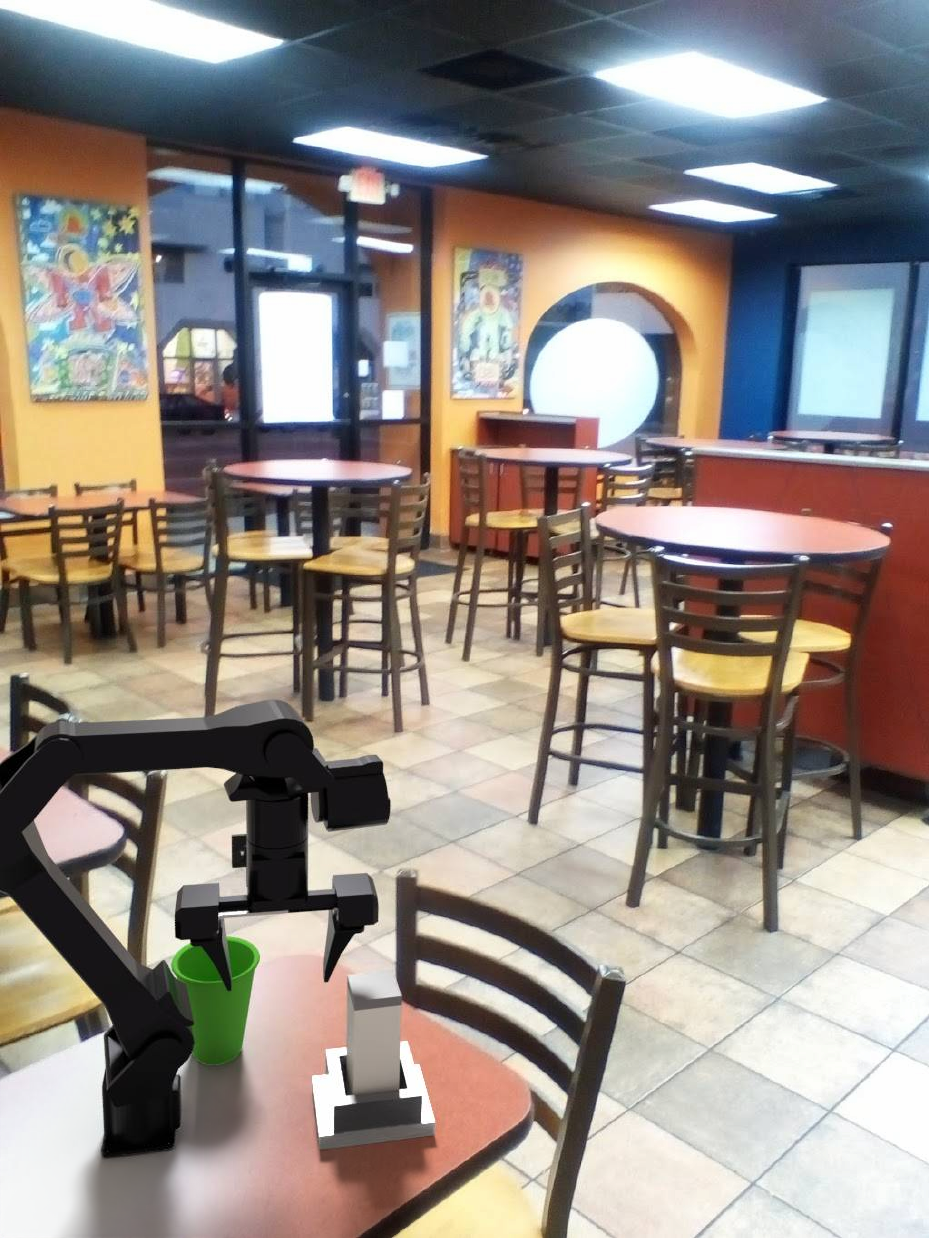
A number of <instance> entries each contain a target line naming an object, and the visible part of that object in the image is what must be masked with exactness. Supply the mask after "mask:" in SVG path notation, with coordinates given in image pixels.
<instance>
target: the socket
mask: <svg viewBox="0 0 929 1238" xmlns="http://www.w3.org/2000/svg"><path fill="white" fill-rule="evenodd" d="M410 1048H411V1047H410V1044H409V1042H408V1040H402V1041H401V1043H400V1078H399V1090H392V1091H383V1092H375V1093H366V1094H357V1095H349V1096H348V1094H347V1090H346V1047H337V1048H327V1049H325V1074H322V1075H321V1074H320V1075H312V1096H313V1105H314V1113H315V1122H316V1131H317V1138H318V1146H319V1147H318V1149H319V1150H320V1151H322V1150H323V1151H324V1150H329V1149H330V1150H331V1149H336V1148H337V1149H338V1148H347V1147H355V1146H362V1145H368V1144H377V1143H386V1142H392V1141H393V1142H394V1141H401V1140H407V1139H410V1140H411V1139H417V1138H423V1137H424V1138H425V1137H432V1136H435V1133H436V1132H435V1130H436V1119H435V1117H434V1113H433V1110H432V1106H431V1103H430V1099H429V1095H428V1091H427V1088H426V1084H425V1081H424V1077H423V1074H422V1071H421V1066H420V1064H415V1062H414V1060H413V1055H412V1051H411V1049H410Z"/></svg>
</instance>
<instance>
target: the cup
mask: <svg viewBox="0 0 929 1238" xmlns="http://www.w3.org/2000/svg"><path fill="white" fill-rule="evenodd" d="M226 938H227V944H228V951H229V957H230V964H231V971H232V991H227V989H226V987H225V985H224V983H223V981H222V979H221V977H220V975H219V973H218V971H217V969H216V967H215V965H214V963H213V962H212V961H211V959H210V958H209V956H208V955H207V954H206V952H205V951H204V950H203V948H202V947H200V946H197V947H195V946H192V945H191V944H190V942H189V943H187V944H186V945H184V946H183V947H182V948H180V949H179V950H177V952H176V953H175V954H174V956H173V957H172V960H171V963H170V966H171V972H172V973H174V974H173V975H174V976H175V977H176V978H177V979H178V980H179V981H181V982H183V983H185V984H186V986H187V991H188V995H189V1000H190V1005H191V1010H192V1015H193V1020H194V1025H192V1030H193V1035H194V1041H195V1045H194V1048H193V1052H192V1055H193V1057H194V1058H195V1059H196V1060H197V1061H198V1062H199V1063H201V1064H203V1065H208V1066H219V1065H223V1064H227V1063H229V1062H233V1060H234V1059H236V1058H237V1057H238V1056H239V1054H240V1052H241V1050H242V1049H243V1045H244V1039H245V1034H246V1033H245V1032H246V1026H247V1020H248V1014H249V1009H250V1001H251V998H252V997H251V996H252V992H253V991H252V989H253V986H254V985H253V983H254V977H255V970H256V968H257V967H258V965H259V963H260V960H261V959H260V958H261V955H260V952H259V949H258V948H257V947H256V946H255V945H254V944H253V943H251V941H248V940H247V939H243V938H240V937H235V936H228V935H226Z"/></svg>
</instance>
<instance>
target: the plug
mask: <svg viewBox="0 0 929 1238" xmlns="http://www.w3.org/2000/svg"><path fill="white" fill-rule="evenodd" d="M346 977H347V978H346V979H347V980H346V984H347V985H346V1037H345V1038H346V1039H345V1040H346V1041H345V1043H346V1045H345V1046H346V1090H347V1094H348V1096H349V1095H357V1094H366V1093H375V1092H383V1091H392V1090H399V1078H400V1043H401V1042H402V1041H401V1037H402V1036H401V1035H402V1004H403V1003H402V1001H403V999H402V998H403V995H402V992H401V990H400V987H399V984H398V981H397V980H398V979H397V978H396V975H395V972H394V970H393V969H386V970H378V971H369V972H359V973H351V974H347V976H346Z"/></svg>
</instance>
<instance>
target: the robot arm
mask: <svg viewBox="0 0 929 1238" xmlns="http://www.w3.org/2000/svg"><path fill="white" fill-rule="evenodd" d="M314 742H315V741H314V736H313V734H312V732H311V730H310V728H309V727H308V725H307V724H306V722H305V721H304V720H303V718H302V717H301V715H300V714H299V712H298V711H297V710H296V709H295V708H294V707H293V706H292V705H291V704H289V703H288V702H287V701H284V700H281V699H274V698H273V699H264V700H259V701H255V702H251V703H246V704H241V705H236V706H234V707H231V708H229V709H227V710H224V711H222V712H219V713H217V714H212V715H207V716H204V717H181V718H180V717H179V718H159V719H138V720H118V721H117V720H112V721H93V722H92V721H91V722H90V721H89V722H86V721H85V722H69V721H67V720H59V721H52V722H50V723H48V724H47V725H45V726H43V727H42V728H41V729H40V730H39V731H38V732H37V734H36V735H35V736H34V737H33V738H32V739H30V741H28V742H27V743H26V744H23V746H21V747H20V748H18V749H17V750H15V751H14V752H12V753H11V754H9V755H8V756H7V757H5V758H4V759H3V760H1V762H0V892H1V893H3V894H5V895H7V896H8V897H9V898H10V899H11V900H13V902H14V903H15V904H16V905H17V906H18V908H20V910H21V911H22V912H23V914H25V915H26V916H27V918H28V919H29V921H31V923H32V924H33V925H34V926H35V927H36V928H37V930H38V931H39V932H41V934H42V935H43V936H44V937H45V939H46V940H47V941H48V942H49V944H51V946H52V947H53V948H54V949H55V950H56V952H57V953H58V954H59V955H60V956H61V957H62V959H63V960H64V961H66V963H67V964H68V965H69V966H70V968H71V969H72V970H73V971H74V972H75V973H76V974H77V976H78V977H79V978H80V979H81V980H82V982H84V984H85V985H86V986H87V987H88V989H89V990H91V992H92V993H93V994H94V995H95V997H96V998H98V1000H99V1001H100V1002H101V1003H102V1005H103V1006H104V1008H105V1010H106V1012H107V1014H108V1017H109V1019H110V1022H111V1026H110V1027H109V1028H108V1029H107V1030H106V1031H105V1032H104V1034H103V1050H104V1064H105V1066H104V1067H105V1069H104V1073H103V1074H104V1075H103V1079H102V1083H101V1084H102V1085H101V1097H102V1098H101V1100H102V1120H103V1122H102V1123H103V1137H102V1143H101V1149H100V1154H101V1155H100V1156H101V1157H102V1158H112V1157H121V1156H130V1155H136V1154H145V1153H153V1152H154V1153H155V1152H161V1151H169V1150H172V1149H173V1148H175V1143H176V1130H179V1129H180V1128H181V1125H182V1079H181V1075H180V1074H177V1073H178V1071H179V1069H180V1068H181V1067H182V1066H184V1065H185V1064H186V1063H187V1062H188V1060H190V1059H189V1058H190V1057H191V1056H192V1055H193V1048H194V1045H195V1041H194V1035H193V1030H192V1025H194V1020H193V1015H192V1010H191V1005H190V1000H189V995H188V991H187V986H186V984H185V983H183V982H181V981H179V980H178V979H177V976H175V974H173V971H172V969H170V967H169V965H168V963H167V961H166V960H165V959H163V960H161V961H159V963H158V964H157V965H155V967H154V968H150V967H148V966H146V965H143V964H141V963H139V962H138V961H137V960H136V959H135V958H134V956H132V954H131V953H130V952H129V951H128V950H127V948H126V947H125V946H124V945H123V943H122V942H121V941H120V940H119V939H118V937H117V936H116V935H115V934H114V933H113V932H112V930H111V929H110V928H109V926H108V925H107V924H106V923H105V922H104V921H103V919H102V918H101V917H100V916H99V915H98V913H97V912H96V911H95V909H93V907H92V906H91V905H90V903H89V902H87V899H85V898H84V897H83V895H82V894H81V893H80V891H79V890H78V889H77V887H75V886H74V885H73V883H72V882H71V881H70V880H69V878H68V877H67V876H66V874H65V873H64V872H63V871H62V870H61V869H60V867H59V866H58V865H57V864H56V863H55V861H54V860H53V859H52V858H51V857H50V855H49V853H48V851H47V849H46V847H45V845H44V842H43V839H42V838H41V834H40V832H39V830H38V828H37V824H36V822H35V819H36V818H37V817H38V816H39V815H40V814H41V812H42V811H43V809H44V808H45V807H46V806H47V805H48V804H49V803H50V801H51V800H52V799H53V797H54V796H55V795H56V794H57V792H59V790H60V789H61V787H63V786H64V785H65V784H66V783H68V781H69V780H70V779H71V778H72V777H76V776H87V775H88V776H89V775H104V774H121V773H135V772H136V773H137V772H140V773H141V772H154V771H156V772H157V771H170V770H171V771H173V770H186V769H187V770H188V769H203V768H209V769H219V770H220V769H221V770H224V771H227V772H231V773H235V774H233V775H232V776H231V777H229V778H228V779H226V781H224V782H223V787H224V790H225V793H226V795H227V798H228V800H229V801H230V802H231V803H234V802H242V801H243V802H244V801H245V807H246V808H245V812H246V813H245V819H246V821H245V822H246V827H245V828H246V831H245V832H246V833H241V834H238V833H237V834H231V868H232V869H239V868H240V869H242V868H245V870H246V872H245V873H246V875H245V882H246V883H245V885H246V894H241V895H226V896H224V895H223V896H220V894H221V892H220V882H211V883H198V884H185V885H184V884H183V885H182V886H181V887H180V888H179V889H178V891H176V899H175V910H174V937H175V939H177V940H180V941H189V943H190V944H191V945H192V946H195V947H197V946H200V947H202V948H203V950H204V951H205V952H206V954H207V955H208V956H209V958H210V959H211V961H212V962H213V963H214V965H215V967H216V969H217V971H218V973H219V975H220V977H221V979H222V981H223V983H224V985H225V987H226V989H227V991H232V971H231V964H230V957H229V951H228V944H227V938H226V936H227V933H226V932H227V931H226V924H225V919H228V918H229V919H231V918H241V917H244V918H245V917H255V916H258V917H259V916H269V915H270V916H271V915H283V914H294V913H305V912H306V913H307V912H319V911H322V912H323V911H328V917H327V918H328V921H327V930H326V937H325V938H326V939H325V945H324V953H323V954H324V955H323V963H322V969H323V970H322V971H323V972H322V974H323V975H322V976H323V977H322V978H323V982H324V983H325V984H326V983H329V981H330V979H331V977H332V975H333V972H334V970H335V968H336V966H337V964H338V962H339V960H340V958H341V956H342V954H343V952H344V950H346V948H347V946H348V945H349V943H350V941H351V940H352V939H353V937H354V936H355V935H356V934H362V933H364V931H365V928H366V926H374V925H375V924H377V923H378V922H379V911H380V910H379V907H380V906H379V896H378V893H377V890H376V889H377V888H376V886H375V883H374V879H373V878H372V876H371V875H369V873H368V872H362V873H361V872H360V873H347V874H344V873H343V874H333V875H332V879H331V888H325V889H324V888H323V889H313V890H310V889H309V794H310V806H311V807H310V808H311V814H312V817H313V820H314V822H315V824H316V823H323V826H324V828H325V830H326V831H327V832H328V833H330V832H338V831H340V832H341V831H346V830H347V831H348V830H354V829H355V830H356V829H362V828H369V827H370V828H371V827H379V826H386V825H387V824H388V823H389V821H390V815H391V807H392V804H391V799H390V798H391V797H390V796H389V791H388V790H389V789H388V785H387V779H386V777H385V774H384V762H383V760H382V759H381V758H380V757H379V755H377V754H368V755H362V756H360V757H356V758H348V759H337V760H327V761H326V759H325V758H324V757H323V755H322V754H321V752H320V751H319V749H318V748H317V747H315V743H314Z"/></svg>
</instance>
